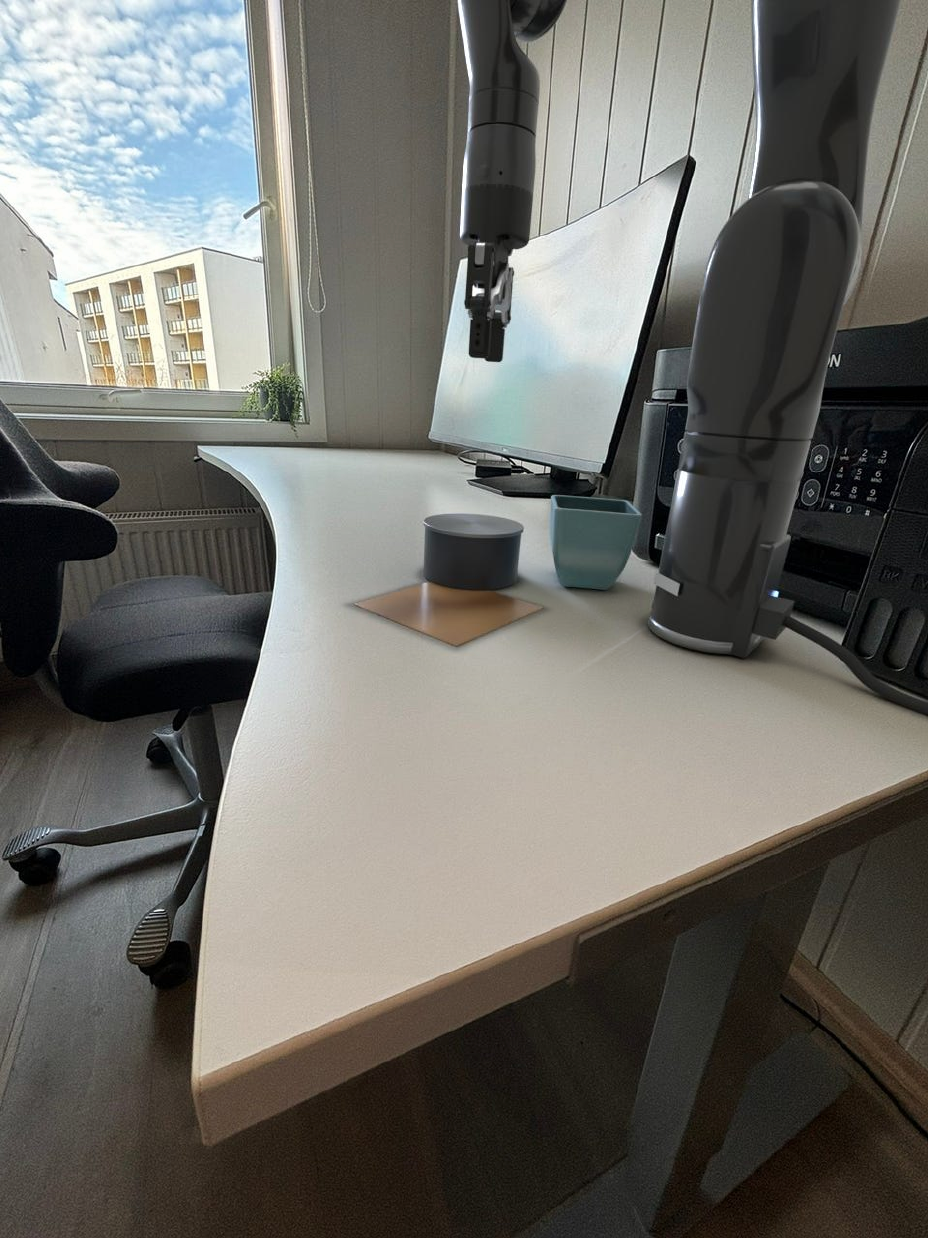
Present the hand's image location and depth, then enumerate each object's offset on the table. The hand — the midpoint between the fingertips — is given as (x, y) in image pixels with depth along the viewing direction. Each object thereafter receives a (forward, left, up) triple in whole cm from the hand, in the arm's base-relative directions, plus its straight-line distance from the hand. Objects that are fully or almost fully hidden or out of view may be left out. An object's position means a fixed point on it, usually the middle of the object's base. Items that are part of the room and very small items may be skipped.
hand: (486, 359), depth 66 cm
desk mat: (-12, +18, -23) cm, 31 cm away
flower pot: (-17, +1, -23) cm, 29 cm away
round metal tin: (-7, +9, -23) cm, 25 cm away
